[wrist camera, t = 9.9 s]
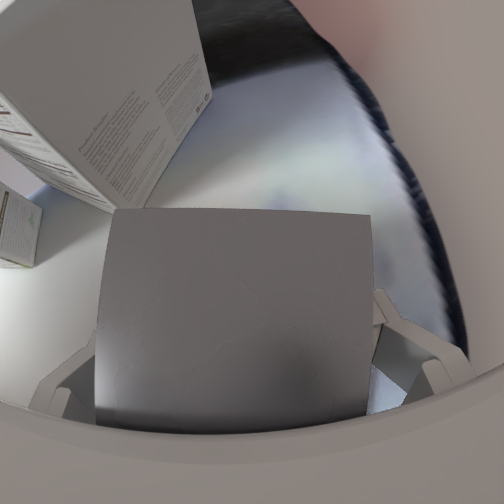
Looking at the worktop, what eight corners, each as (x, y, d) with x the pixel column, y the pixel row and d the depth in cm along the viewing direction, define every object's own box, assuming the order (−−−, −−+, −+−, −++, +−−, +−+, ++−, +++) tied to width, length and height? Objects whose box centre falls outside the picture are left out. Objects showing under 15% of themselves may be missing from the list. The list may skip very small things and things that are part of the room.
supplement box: (112, 81, 25) (49, -39, 8) (216, 96, 23) (178, -86, 6) (40, 182, 22) (-76, 80, 5) (136, 227, 20) (-42, 51, 3)
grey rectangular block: (191, 388, 14) (97, 448, 5) (199, 276, 15) (114, 208, 7) (308, 396, 13) (355, 479, 5) (314, 281, 15) (369, 215, 6)
